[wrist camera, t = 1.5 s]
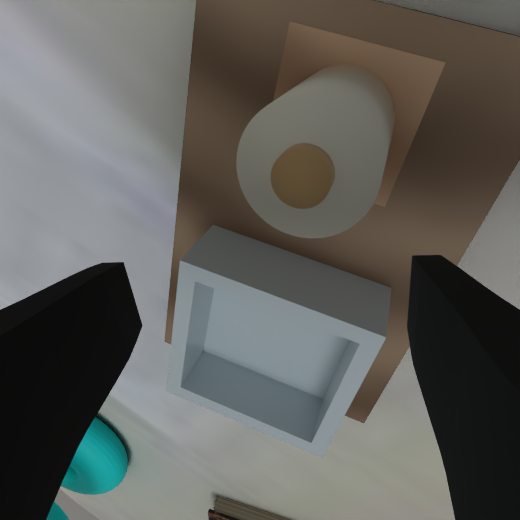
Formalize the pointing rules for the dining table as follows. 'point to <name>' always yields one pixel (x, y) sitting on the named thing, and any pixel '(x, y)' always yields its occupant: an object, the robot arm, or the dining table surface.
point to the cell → (318, 152)
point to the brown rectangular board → (401, 146)
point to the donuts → (94, 465)
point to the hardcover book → (238, 511)
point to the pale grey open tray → (273, 337)
